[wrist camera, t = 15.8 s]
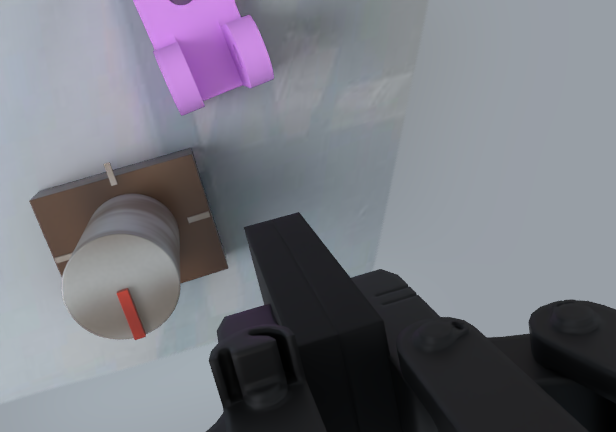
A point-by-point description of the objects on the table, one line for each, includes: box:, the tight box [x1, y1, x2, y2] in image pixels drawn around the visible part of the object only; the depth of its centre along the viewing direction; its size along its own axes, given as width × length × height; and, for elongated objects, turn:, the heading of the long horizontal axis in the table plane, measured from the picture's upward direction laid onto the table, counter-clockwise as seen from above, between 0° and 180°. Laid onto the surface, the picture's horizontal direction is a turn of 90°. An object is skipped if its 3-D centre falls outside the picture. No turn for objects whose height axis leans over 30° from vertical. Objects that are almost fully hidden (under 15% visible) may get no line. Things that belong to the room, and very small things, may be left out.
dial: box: [61, 194, 180, 340], centre depth 32 cm, size 6×6×9 cm
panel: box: [29, 148, 228, 284], centre depth 37 cm, size 10×10×3 cm
